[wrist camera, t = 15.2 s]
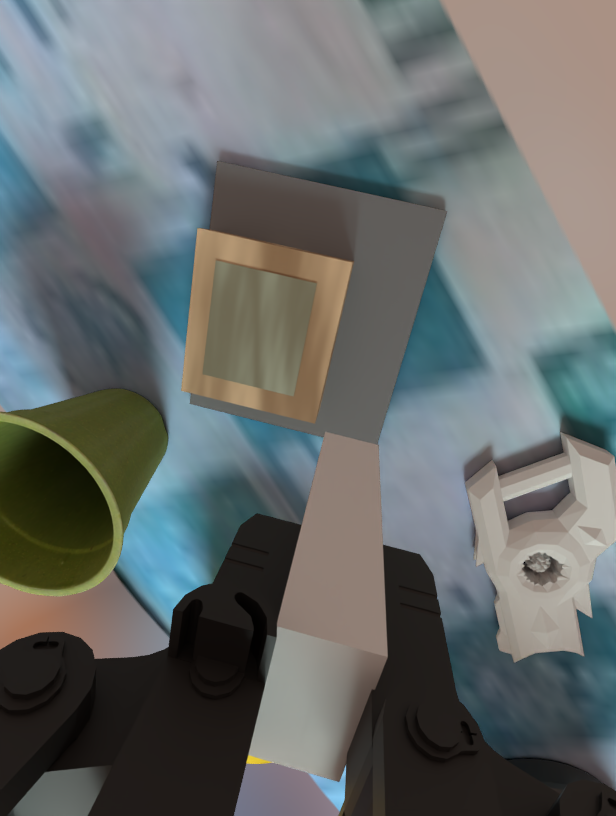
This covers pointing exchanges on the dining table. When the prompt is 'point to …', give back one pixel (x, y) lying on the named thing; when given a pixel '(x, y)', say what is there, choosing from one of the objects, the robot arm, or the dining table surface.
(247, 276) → the rectangular block
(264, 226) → the mat
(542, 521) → the light grey toy spaceship
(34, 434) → the plant pot
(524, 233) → the dining table surface
